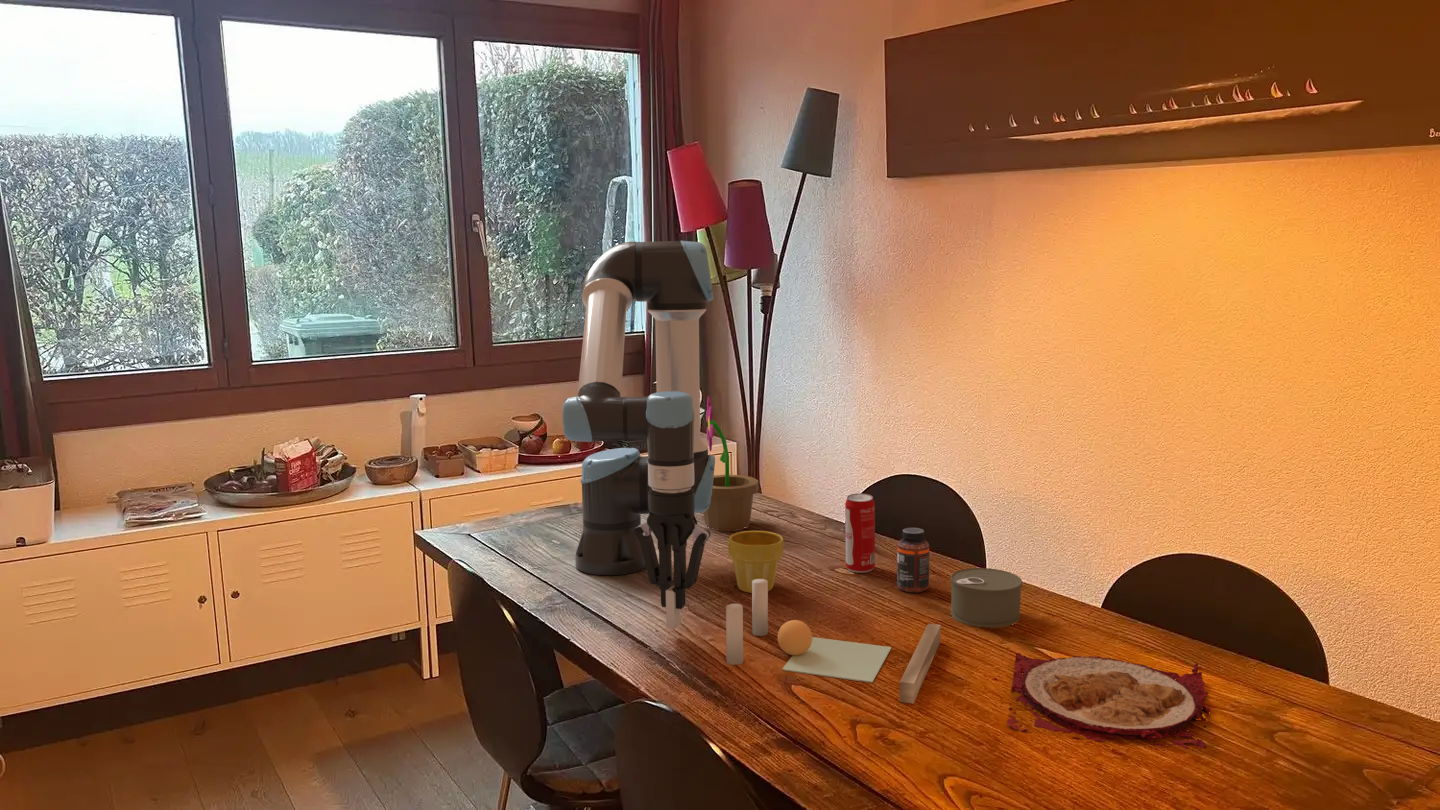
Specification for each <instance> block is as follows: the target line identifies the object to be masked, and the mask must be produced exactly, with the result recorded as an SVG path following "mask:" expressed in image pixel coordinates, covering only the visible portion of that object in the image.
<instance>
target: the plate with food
mask: <svg viewBox="0 0 1440 810" xmlns="http://www.w3.org/2000/svg"><path fill="white" fill-rule="evenodd" d="M1013 669H1014V671H1013V677H1012V684H1011V685H1012V686H1011V693H1012V692H1016V693H1019V694H1021V695H1018V696H1017V697H1016V698H1015V700H1014V701H1016V702H1017V703H1018V702H1021V703H1023V706H1024V707H1027V708H1029V707H1030V709H1029V711H1030V712H1032V715H1033V716H1034V717H1035V719H1034V724H1033V725H1034V727H1036V728H1041V729H1046V730H1049V731H1051V732H1054V733H1057V732H1063V733H1067V734H1070V733H1071V734H1075V735H1077V734H1078V735H1082V736H1083V737H1084V738H1085V739H1088V740H1093V741H1094V742H1098V741H1099V742H1103V743H1106V740H1110V741H1113V742H1112V743H1113V744H1115V742H1114V741H1115V738H1118V739H1119V738H1122V739H1131V740H1132V739H1147V740H1155V739H1162V740H1163V739H1164V737H1165V738H1170V737H1172V738H1177V737H1176V736H1180V737H1186V738H1189V737H1191V739H1190V740H1191V741H1190V740H1189V739H1186V738H1185V739H1184V740H1185V741H1184V740H1181V738H1180V737H1178V738H1179V739H1180V740H1179V739H1176V740H1175V741H1173V742H1172V743H1171V744H1170V743H1169V744H1168V747H1170V746H1172V745H1173V746H1180V747H1181V748H1183V749H1184V750H1188V749H1191V747H1189V746H1188V745H1185V744H1189V743H1191V744H1194V745H1195V747H1196V748H1198V747H1201V748H1202V749H1207V745H1206V744H1205V741H1204V740H1203V739H1200V738H1197V739H1195V740H1192V738H1193V737H1194V734H1193V732H1187V729H1188V728H1187V729H1186V726H1187V724H1189V723H1190V722H1191V720H1193V719H1194V718H1195V719H1199V717H1200V715H1201V713H1202V714H1203V711H1204V710H1205V711H1206V712H1208V713H1209V712H1210V713H1211V708H1210V706H1206V705H1205V702H1206V700H1207V699H1206V698H1207V696H1208V695H1209V694H1210V693H1209V692H1208V691H1206V689H1205V686H1204V685H1205V683H1204V682H1205V681H1204V680H1203V678H1204V677H1203V672H1201V671H1199V663H1198V662H1197V663H1194V664H1193V668H1192V669H1191V673H1184V674H1182V675H1179V673H1177V672H1170V671H1163V670H1160V669H1156V668H1153V667H1150V666H1147V665H1145V664H1139V663H1138V664H1136V663H1134V662H1128V661H1125V660H1122V659H1120V660H1119V659H1115V658H1111V657H1102V656H1099V655H1098V656H1093V655H1092V656H1090V655H1089V656H1079V655H1078V656H1073V657H1071V656H1070V657H1068V658H1067V657H1058V658H1055V659H1054V658H1049V659H1039V658H1031V657H1028V656H1026V655H1022V654H1021V653H1020V652H1018V653H1017V652H1016V653H1015V660H1014V668H1013ZM1198 671H1199V672H1198ZM1022 673H1023V674H1022ZM1175 679H1176V680H1175ZM1202 708H1203V709H1204V710H1203V709H1202ZM1035 709H1036V710H1037V711H1038V712H1039V713H1041V714H1042V715H1043V716H1045V717H1047V719H1048V720H1050V721H1051V722H1050V721H1048V720H1046V719H1043V718H1042V716H1041V715H1040V714H1039V713H1038V712H1035V711H1034V710H1035ZM1008 710H1013V712H1011V713H1012V714H1014V715H1015V716H1013V715H1009V714H1008V715H1009V716H1010V717H1011V718H1008V719H1006V720H1007V721H1006V724H1007V725H1008V726H1009V727H1011V728H1013V729H1014V730H1016V731H1019V729H1020V727H1021V728H1022V727H1023V725H1022V724H1019V723H1020V721H1021V722H1022V721H1024V720H1023V719H1021V720H1020V721H1018V720H1016V718H1017V717H1016V715H1017V712H1015V711H1016V710H1015V709H1014V708H1013V707H1011V706H1010V705H1009V708H1008ZM1205 711H1204V712H1205ZM1206 712H1205V713H1206ZM1208 713H1207V714H1208ZM1195 719H1194V720H1195ZM1189 721H1190V722H1189ZM1052 722H1054V723H1055V724H1058V725H1060V726H1061V727H1060V726H1058V725H1055V724H1054V723H1052ZM1188 722H1189V723H1188ZM1018 724H1019V726H1018ZM1193 725H1194V723H1192V724H1191V729H1192V728H1193V729H1195V727H1194V726H1193ZM1064 727H1065V728H1064ZM1184 727H1185V728H1184ZM1027 728H1029V726H1027ZM1027 728H1026V727H1025V728H1023V729H1021V730H1020V731H1021V732H1023V731H1024V732H1028V730H1029V729H1027ZM1183 728H1184V729H1183ZM1180 729H1182V730H1180ZM1177 731H1179V732H1177ZM1175 732H1177V733H1175ZM1029 733H1032V732H1030V731H1029ZM1170 734H1171V735H1170ZM1192 736H1193V737H1192ZM1073 739H1078V740H1084V739H1083V738H1082V739H1081V738H1080V737H1076V736H1073ZM1203 741H1204V742H1203ZM1210 742H1211V741H1209V743H1210ZM1150 745H1152V746H1160V747H1161V748H1163V747H1166V745H1165V744H1164V743H1160V742H1159V744H1158V743H1157V744H1156V743H1151V744H1150ZM1153 749H1154V750H1159V748H1158V747H1154V748H1153Z"/></svg>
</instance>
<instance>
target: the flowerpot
mask: <svg viewBox="0 0 1440 810" xmlns="http://www.w3.org/2000/svg"><path fill="white" fill-rule="evenodd" d="M710 397H711V396H710V395H708V396H707V401H706V408H707V409H706V410H705V411H706V413H705V414H706V416H705V419H706V423H707V425H708V426H707V427H706V437H707V438H706V439H707V442H708V450H709V452H712V447H713V438H714V429H715V430H716V432H717V435H718V436H719V437H720V440H721V444H722V448H723V451H722V453H721V455H720V458H719V461H720V462H722V463H724V465H725V466H724V468H725V469H724V474H717V475H716V474H714V478H713V487H712V495H711V501H710V506H709V508H708V509H707V510H706V511H705V512H703V518H704V524H705V525H707V526H708V527H709V528H714V529H718V530H736V529H742V530H744V529H743V528H744V527H747V526H749V527H750V525H749V524H750V523H751V518H752V517H751V515H752V510H753V501H754V495H755V494H757V493H758V491H759V480H758V479H756V478H755V477H753V476H748V475H742V474H730V455H729V454H730V453H729V450H728V444H727V441H726V440H727V439H726V437H725V435H724V433H723V431H722V429H721V428H720V425H718V424H717V422H716V421H715V420H714V419H713V418H714V417H713V406H712V403H711V398H710ZM708 527H707V528H708ZM709 528H708V529H709ZM736 531H737V530H736Z"/></svg>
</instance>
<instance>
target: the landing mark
mask: <svg viewBox="0 0 1440 810" xmlns="http://www.w3.org/2000/svg"><path fill="white" fill-rule="evenodd" d="M891 650H892V647H891V646H886V645H878V644H877V645H876V644H869V643H862V642H855V641H854V642H853V641H846V640H837V639H830V638H823V637H815V636H812V644H811V646H810V648H809V649H808V650H807V651H806V652H805V653H803V654H801V655H791V657H790V658H789V659H788V661H787V662H786V663H785V665H784V666H783V667H782V669H781V670H782V671H785V672H793V673H799V674H807V675H812V676H814V675H815V676H821V677H828V678H829V677H830V678H836V679H842V680H849V681H850V680H851V681H856V682H864V683H870V684H872V683H874V680H875V679H876V678H877V676H878V673H879V672H880V670H881V668H882V666H883V665H884V663H885V661H886V659H887V657H888V656H889V654H890V651H891Z"/></svg>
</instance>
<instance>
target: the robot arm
mask: <svg viewBox="0 0 1440 810" xmlns="http://www.w3.org/2000/svg"><path fill="white" fill-rule="evenodd" d="M709 263H710V262H709V258H708V250H707V247H706V246H705V244H703V243H702V242H699V241H690V240H689V241H688V240H683V239H682V240H674V241H672V240H671V241H665V240H664V241H627V242H621V243H620V244H617V245H615V246H613V247H611V248H610V249H608V250H606V251H605V252H604V253H602V255H601V256H600V257H598V259H596V261H595V262H594V263H593V265H592V266H591V267H590V269H589V270H588V272H587V273H586V276H585V278H584V281H583V285H582V290H581V291H582V293H581V300H582V303H583V306H584V307H585V313H584V314H585V315H584V327H583V336H582V345H581V354H580V355H581V357H580V367H579V374H578V375H579V376H578V386H577V395H576V396H572V397H567V398H565V400H564V401H563V404H562V416H561V417H562V430H563V434H564V437H565V438H566V439H567V440H568V441H572V442H586V443H587V442H588V443H592V442H613V441H614V442H615V441H617V442H618V441H619V442H620V441H621V442H622V441H628V442H635V441H637V442H638V441H639V442H640V441H641V442H646V441H647V456H643V455H642V456H641V453H640V451H639V450H640V449H638V448H636V447H620V448H619V447H618V448H611V449H606V450H601V451H598V452H595V453H592V454H590V455H588V456H586V458H584V460H583V461H582V463H581V478H580V483H581V497H582V498H581V499H582V530H581V534H580V538H579V541H578V545H577V548H576V552H575V556H574V557H575V568H576V569H577V570H579V571H580V572H582V573H583V572H584V573H585V574H590V575H597V576H617V575H618V576H619V575H628V574H632V573H636V572H639V571H642V570H645V569H646V572H647V576H648V581H649V584H650V585H656V586H657V587H659V589H660V605H661V607H662V608H665V620H666V621H665V622H666V623H665V625H666V629H668V630H676V629H677V628H678V627H679V626H680V625H682V612H681V611H682V610H683V608H685V607H686V603H687V602H686V599H687V598H686V589H687V590H688V589H690V588H692V587H693V586H694V585H695V584H696V583H697V580H698V576H699V571H700V567H701V564H702V558H703V555H704V551H705V550H704V549H705V546H706V543H707V542H708V540H709V538H710V537H711V535H712V534H711V533H712V532H711V530H710V529H709V530H708V529H705V530H704V529H703V528H702V527H700V526H699V525H698V521H697V518H696V516H695V514H699V513H700V514H701V513H704V512H705V511H706V510H707V509H708V508H709V506H710V501H711V495H712V487H713V478H714V475H715V465H716V456H715V455H713V454H710V453H709V445H707V444H706V443H705V442H704V441H703V440H702V439H701V396H700V395H701V393H700V391H701V390H700V388H701V386H700V382H701V381H700V380H701V379H700V318H702V317H701V316H703V315H704V314H705V312H706V311H707V302H708V303H709V302H711V301H713V300H714V292H713V283H712V279H711V278H712V277H711V269H710V264H709ZM633 302H637V303H638V302H645V303H646V302H647V303H646V304H647V307H646V308H647V312H648V314H650V315H651V316H652V317H653V318H654V320H655V321H654V323H655V325H654V326H655V327H654V328H655V369H656V370H655V371H656V373H655V375H656V376H655V377H656V381H655V382H656V384H655V385H656V392H654V393H651V394H649V395H648V396H622V386H623V371H624V355H625V341H626V340H625V338H626V337H625V336H626V322H627V311H628V310H629V309H630V308H631V306H632V303H633ZM641 515H648V516H647V517H646V522H645V523H641V520H642V519H641V517H642V516H641ZM652 533H653V535H654V536H655V538H656V540H657V550H658V555H657V552H656V547H655V546H656V545H655V543H654V538H653V536H652ZM692 534H693V537H692V539H693V541H694V542H693V544H692V548H691V552H690V557H689V561H688V564H687V545H688V539H689V538H690V537H691V535H692ZM672 555H673V562H672ZM672 563H673V564H672ZM687 565H688V566H687ZM672 566H673V567H672ZM672 568H673V569H672ZM672 571H673V572H672ZM672 584H673V585H672Z"/></svg>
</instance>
